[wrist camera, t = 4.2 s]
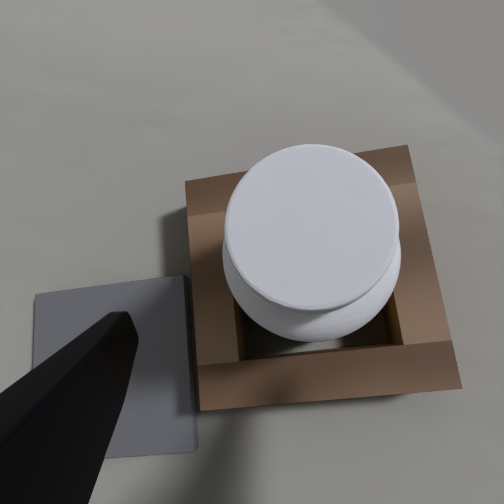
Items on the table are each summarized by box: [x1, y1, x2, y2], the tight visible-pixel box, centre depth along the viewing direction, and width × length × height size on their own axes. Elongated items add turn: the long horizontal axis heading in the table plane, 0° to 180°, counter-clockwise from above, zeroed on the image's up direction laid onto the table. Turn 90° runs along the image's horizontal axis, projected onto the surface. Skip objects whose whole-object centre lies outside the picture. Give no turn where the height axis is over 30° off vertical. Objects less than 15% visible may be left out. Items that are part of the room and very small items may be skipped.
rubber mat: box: [33, 275, 198, 458], centre depth 18 cm, size 8×8×1 cm
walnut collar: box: [185, 145, 462, 411], centre depth 16 cm, size 10×10×2 cm
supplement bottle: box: [222, 144, 401, 342], centre depth 13 cm, size 5×5×10 cm
